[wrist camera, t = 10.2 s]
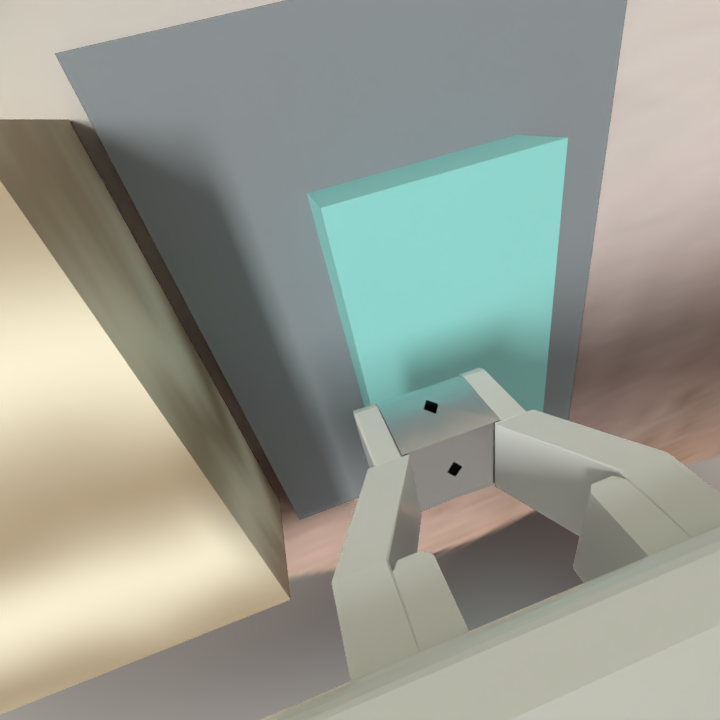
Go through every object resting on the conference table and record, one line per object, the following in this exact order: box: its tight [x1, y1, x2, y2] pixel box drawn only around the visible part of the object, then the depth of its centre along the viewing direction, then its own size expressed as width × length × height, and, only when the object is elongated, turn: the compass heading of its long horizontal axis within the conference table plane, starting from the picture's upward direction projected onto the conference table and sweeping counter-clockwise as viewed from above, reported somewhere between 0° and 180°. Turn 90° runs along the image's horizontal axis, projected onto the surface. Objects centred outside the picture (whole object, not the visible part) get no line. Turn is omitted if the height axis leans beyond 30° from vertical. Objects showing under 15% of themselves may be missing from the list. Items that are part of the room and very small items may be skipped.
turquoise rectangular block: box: [307, 135, 568, 412], centre depth 12 cm, size 9×6×2 cm, turn 12°
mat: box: [55, 0, 627, 520], centre depth 13 cm, size 16×13×1 cm
